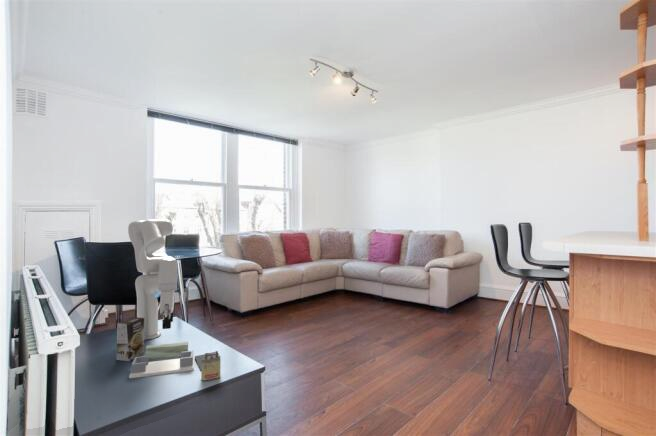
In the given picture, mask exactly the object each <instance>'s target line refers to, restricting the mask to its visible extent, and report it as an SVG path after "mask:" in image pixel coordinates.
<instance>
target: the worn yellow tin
mask: <svg viewBox="0 0 656 436" xmlns="http://www.w3.org/2000/svg"><path fill="white" fill-rule="evenodd" d="M204 354H205V357H204V358H202V371H200V373H201V379H200V381H202V380H208V379H213V378H218V377H220V378H221V362H222V361H221V355H219V351H218V350H216V351H214V352H205V353H204ZM218 379H219V378H218ZM213 380H214V379H213ZM208 381H209V380H208Z"/></svg>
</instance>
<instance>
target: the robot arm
mask: <svg viewBox="0 0 656 436" xmlns="http://www.w3.org/2000/svg"><path fill="white" fill-rule="evenodd" d="M127 229H128V232H127V233H128V238H129V240H130V242H131V245H132V246H133V249H134V257H135V258H134V259H135V265H136V266H135V267H136V269H137V272H139V273H143V274H142V275H139V276H137V277H136V279H135V282H134V286H135V292H136V317H138V318H144V341H147V340H152V339H156V338H158V337H160V336H161V335H162V331H161V330H159V314H160V315H162V327H161V328H162V330H169V329H171V328H172V322H174V307H175V291H176V290H178V260H177V259H176V258H174V256H171V255H168V254H167V253H164V252H163V253H162V252H161V253H155V252H156V251H158V250H160V249H162V248H163V247H164V246H165V243H166V240H165V237H168V236H170V235H172V233H173V229H174V226H173V224H172V222H171V221H170V220H169V219H163V218H162V219H161V218H157V219H155V218H153V219H152V218H151V219H145V220H141V219H140V220H134V221H132V222H130V223H129V224H128V227H127ZM158 292H160V300H159V299H158V297H156V295H154V294H155V293H158ZM158 300H159V301H160V302H159V301H158Z"/></svg>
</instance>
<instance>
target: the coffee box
mask: <svg viewBox="0 0 656 436" xmlns="http://www.w3.org/2000/svg"><path fill="white" fill-rule="evenodd" d="M143 354H145V340H144V318H138V317H137V316H136V317H135V316H132V317H129V318H126V319H124V320H121V321H119V322H117V325H116V360H117V361H121V362H122V361H124V362H130V361H132V360H134V358H135V357H140V356H142V355H143Z"/></svg>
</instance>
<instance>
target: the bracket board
mask: <svg viewBox="0 0 656 436" xmlns="http://www.w3.org/2000/svg"><path fill="white" fill-rule="evenodd" d="M194 370H195V356H194V350H188V351H184V352H181V356H180V357H178V358H173V359H172V358H170V359H163V360H157V361H155V360H154V361H153V360H152V361H149V360H148V356H145V355H139V356H137V357H135V358H134V359H133V361H132V363H131V371H130V373H129V376H128V379H136V378H143V377H150V376H158V375H166V374H174V373H181V372H188V371H194Z"/></svg>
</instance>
